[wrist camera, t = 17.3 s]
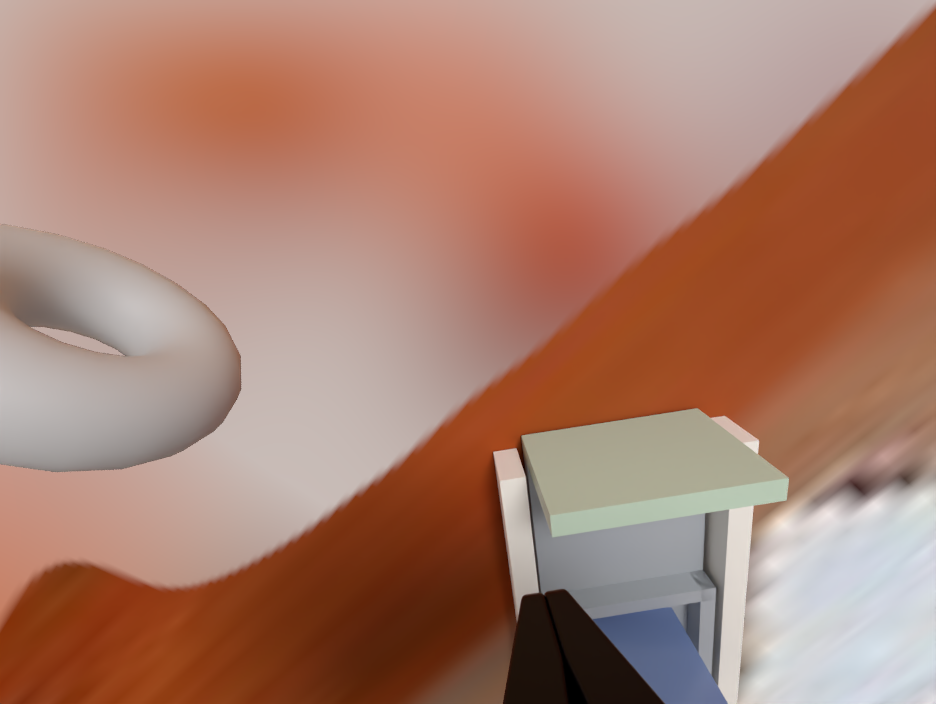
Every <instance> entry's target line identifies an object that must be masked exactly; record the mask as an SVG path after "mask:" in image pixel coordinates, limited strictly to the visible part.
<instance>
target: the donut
mask: <svg viewBox="0 0 936 704" xmlns="http://www.w3.org/2000/svg"><path fill="white" fill-rule="evenodd" d="M31 327H47V328H52V329H59V330H64V331H71V332H74V333H77V334H80V335H83V336H87V337H90V338H93V339H96V340H98V341H100V342H102V343H104V344H106V345H108V346H111V347H113V348H115V349H117V350H118V351H119V352H121V353H122V354H124V355H125V356H119V355H113V354H105V353H98V352H94V351H90V350H86V349H83V348H80V347H77V346H73V345H70V344H66V343H63V342H61V341H58V340H56V339H54V338H52V337H49V336H48V335H45V334H43V333H41V332H39V331H37V330H34V329H32V328H31ZM240 358H241V356H240V354H239V352H238V350H237V348H236V346H235V344H234V342H233V340H232V338H231V336H230V334H229V332H228V330H227V328H226V327H225V325H224V324H223V323H222V322H221V321H220V320H219V319H218V318H217V317H216V315H215V314H214V313H213V312H212V311H211V310H210V309H209V308H208V307H207V306H206V305H205V304H204V303H202V302H201V301H200V300H198V299H197V298H196V297H194V296H193V295H192V294H190V293H189V292H188V291H186V290H185V289H184V288H182V287H181V286H179V285H178V284H177V283H175V282H173V281H172V280H170V279H168V278H166V277H164V276H163V275H161V274H159V273H157V272H155V271H154V270H152V269H150V268H148V267H146V266H144V265H143V264H140V263H138V262H136V261H133V260H131V259H129V258H126V257H124V256H121V255H119V254H117V253H114V252H112V251H110V250H107V249H105V248H102V247H98V246H95V245H92V244H88V243H85V242H82V241H79V240H75V239H72V238H69V237H66V236H62V235H59V234H54V233H49V232H44V231H38V230H33V229H28V228H22V227H17V226H12V225H6V224H0V464H1V465H9V466H16V467H23V468H30V469H38V470H45V471H51V472H68V471H91V470H114V469H124V468H128V467H132V466H135V465H139V464H143V463H147V462H150V461H154V460H158V459H162V458H165V457H169V456H172V455H174V454H177V453H179V452H181V451H183V450H185V449H186V448H188V447H189V446H191V445H193V444H194V443H196V442H197V441H199V440H201V439H202V438H204V437H205V436H207V435H209V434H210V433H212V432H213V431H215V430H216V428H217V427H218V426H219V425H220V424H221V423H222V422H223V421H224V419H225V418H226V416H227V414H228V413H229V411H230V410H231V408H232V406H233V405H234V403H235V401H236V400H237V398H238V395H239V392H240V391H241V360H240Z"/></svg>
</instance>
